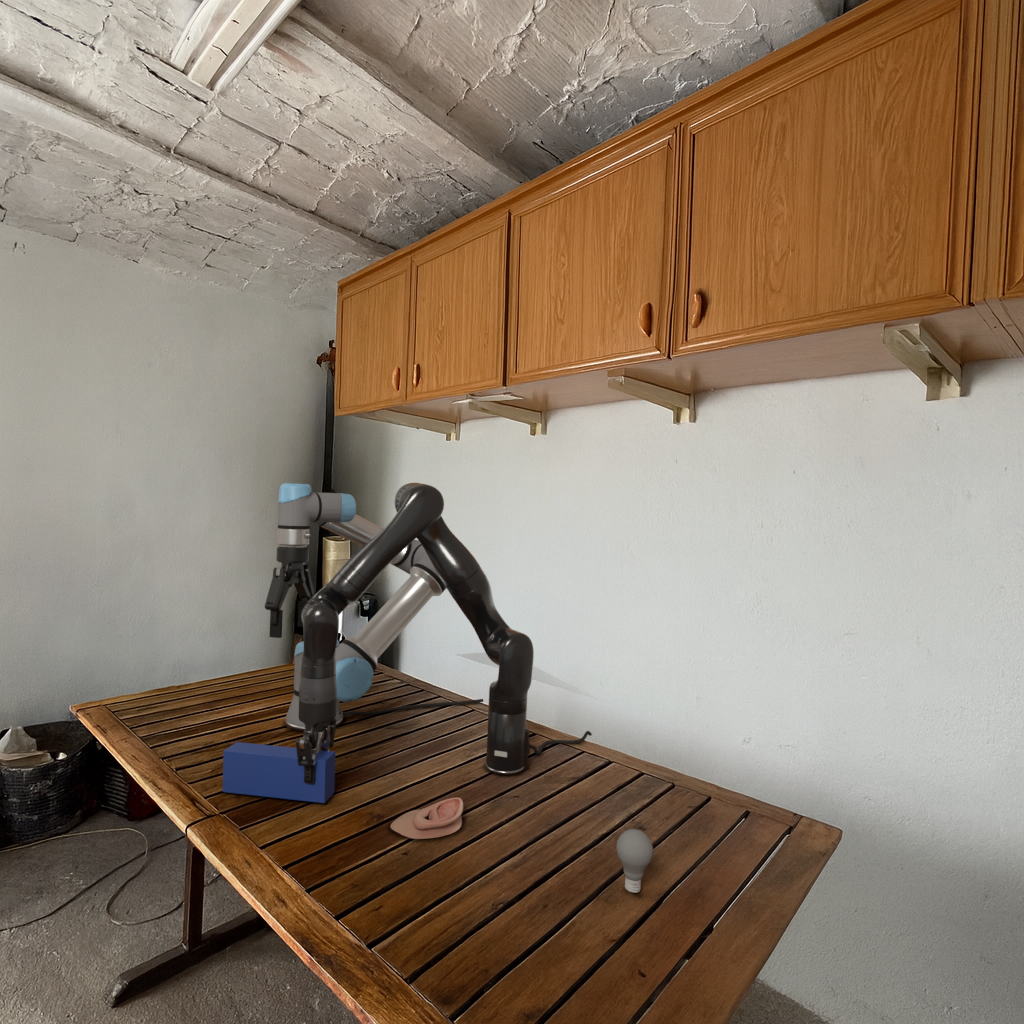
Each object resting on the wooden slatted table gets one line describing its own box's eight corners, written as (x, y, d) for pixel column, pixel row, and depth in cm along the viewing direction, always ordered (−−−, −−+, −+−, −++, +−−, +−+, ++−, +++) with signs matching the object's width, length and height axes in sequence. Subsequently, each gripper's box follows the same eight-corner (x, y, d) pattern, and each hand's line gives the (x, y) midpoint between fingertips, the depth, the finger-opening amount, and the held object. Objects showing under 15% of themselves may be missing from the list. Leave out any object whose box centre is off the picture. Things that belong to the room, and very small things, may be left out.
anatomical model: (384, 813, 120) (406, 787, 131) (383, 834, 120) (405, 806, 131) (452, 824, 117) (468, 796, 128) (451, 845, 117) (467, 815, 128)
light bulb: (610, 879, 108) (613, 822, 108) (644, 879, 109) (647, 822, 109) (619, 902, 102) (622, 840, 102) (655, 901, 103) (658, 840, 103)
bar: (222, 792, 133) (223, 750, 132) (236, 781, 137) (236, 742, 137) (324, 803, 129) (325, 761, 129) (334, 792, 134) (335, 751, 134)
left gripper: (281, 550, 143) (278, 643, 144) (329, 543, 168) (326, 623, 168) (250, 548, 144) (247, 641, 145) (303, 542, 169) (300, 621, 169)
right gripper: (319, 708, 124) (317, 794, 124) (349, 687, 138) (347, 764, 138) (283, 705, 125) (281, 790, 125) (316, 684, 139) (314, 761, 140)
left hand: (289, 631), depth 156 cm, fingers open, 13 cm apart
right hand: (316, 776), depth 132 cm, fingers closed on bar, 5 cm apart
